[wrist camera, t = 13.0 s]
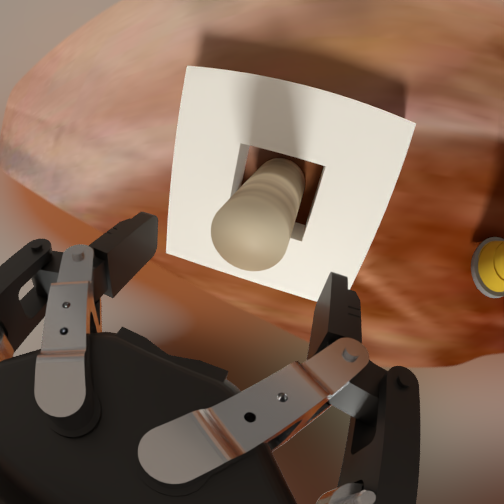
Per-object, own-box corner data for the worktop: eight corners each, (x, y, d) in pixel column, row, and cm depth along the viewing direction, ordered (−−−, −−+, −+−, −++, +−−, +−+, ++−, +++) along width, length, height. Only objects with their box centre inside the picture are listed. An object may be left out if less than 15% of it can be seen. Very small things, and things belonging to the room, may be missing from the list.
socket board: (203, 68, 20) (187, 65, 17) (404, 120, 18) (415, 123, 15) (180, 237, 28) (166, 252, 26) (340, 287, 26) (339, 308, 24)
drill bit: (452, 275, 23) (488, 241, 14) (481, 239, 23) (519, 193, 14) (484, 313, 21) (532, 297, 12) (512, 276, 20) (561, 244, 11)
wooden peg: (261, 152, 22) (216, 190, 14) (310, 166, 22) (297, 213, 13) (251, 197, 24) (206, 258, 16) (298, 211, 24) (276, 280, 16)
